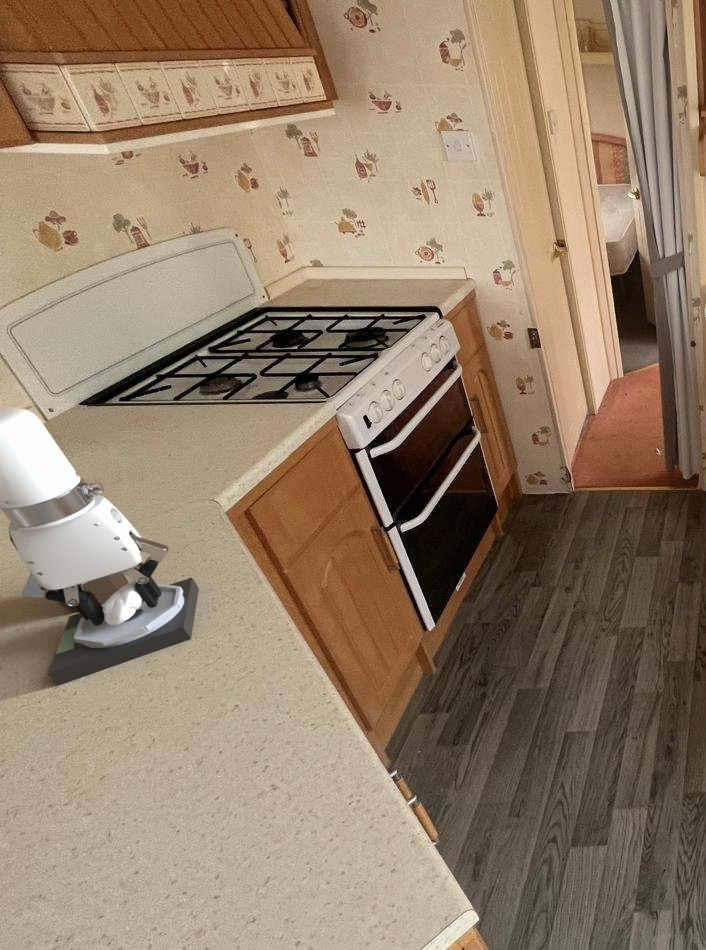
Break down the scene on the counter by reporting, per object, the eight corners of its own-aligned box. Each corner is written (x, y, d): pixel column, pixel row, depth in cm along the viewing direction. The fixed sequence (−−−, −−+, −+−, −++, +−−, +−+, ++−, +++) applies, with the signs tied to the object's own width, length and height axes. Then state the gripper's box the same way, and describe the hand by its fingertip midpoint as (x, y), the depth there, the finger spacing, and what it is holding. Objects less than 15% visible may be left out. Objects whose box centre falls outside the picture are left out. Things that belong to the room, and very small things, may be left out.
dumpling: (158, 614, 94) (136, 599, 91) (114, 637, 92) (90, 622, 89) (153, 583, 98) (131, 567, 95) (110, 604, 96) (87, 589, 93)
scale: (57, 685, 88) (40, 666, 86) (78, 627, 97) (63, 608, 95) (191, 638, 94) (178, 619, 92) (199, 588, 104) (187, 570, 102)
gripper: (141, 469, 92) (206, 572, 101) (-36, 514, 84) (53, 621, 93) (132, 494, 86) (202, 600, 95) (-57, 544, 78) (39, 654, 87)
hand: (127, 609), depth 94 cm, fingers closed on dumpling, 5 cm apart
